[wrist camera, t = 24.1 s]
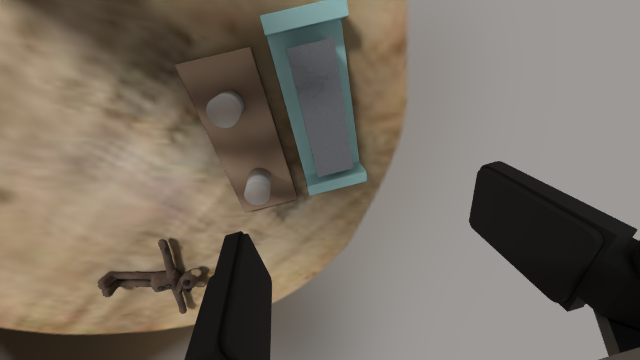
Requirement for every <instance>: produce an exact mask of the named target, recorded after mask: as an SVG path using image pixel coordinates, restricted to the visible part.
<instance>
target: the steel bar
mask: <svg viewBox="0 0 640 360" xmlns="http://www.w3.org/2000/svg"><path fill="white" fill-rule="evenodd" d="M286 51H287V55H288V59H289V63H290V67H291V72H292V76H293V80H294V84H295V88H296V92H297V96H298V100H299V104H300V108H301V112H302V116H303V121H304V125H305V129H306V133H307V137H308V141H309V145H310V149H311V153H312V157H313V161H314V165H315V169H316V172H317V175H318V177H320V176H324V175H328V174H332V173H336V172H340V171H344V170H348V169H352V168H353V163H352V156H351V149H350V143H349V136H348V129H347V122H346V115H345V109H344V102H343V95H342V88H341V81H340V75H339V68H338V61H337V54H336V47H335V41H334V38H329V39H325V40H321V41H317V42H313V43H309V44H304V45H300V46H296V47H292V48H288V49H286Z"/></svg>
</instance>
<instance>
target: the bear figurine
mask: <svg viewBox="0 0 640 360" xmlns="http://www.w3.org/2000/svg"><path fill="white" fill-rule="evenodd" d="M158 244H159V247H160V249H161V252H162V255H163V259H164V263H165V268H166V271H159V272H156V273H139V272H114V271H110V272H108V273H107V274H106V275H105V276H103V277H102V278H101V279H100V280H99V281H98V284H99V285H98V287H99V288H100V289H102V293H103V296H105V297H110V296H112V295H113V293H114V292H115V290H116V289H117V288H118V287H120V286H124V287H126V286H132V287H152V289H153V290H154V291H155V292H161V291H164V290H167V289H172V291H173V294H174V296H175V298H176V301H177V303H178V306H179V311H180V313H182V314H184V313H186V311H187V309H186V305H185V302H184V298H183V295H182V292H183V291H184V290H186V291H187V292H190V291H191V290H192V288H194V287H195V286H197V287H204V286H205V285H206V284H205V282H204V281H202V280H199V278H200V275H201V274H202V271H201V270H200V269H198V268H194V269H192V270H189V271H187V272H186V273H184V274H183V276H181V274H180V272H178V271H177V269H176V268H175V265H174V263H173V260H172V255H171V252H170V248H169V246H168V243H167V241H166V240H163V239H161V240H159V242H158ZM123 279H128V280H123ZM131 279H149V280H131Z"/></svg>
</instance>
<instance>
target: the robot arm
mask: <svg viewBox="0 0 640 360" xmlns="http://www.w3.org/2000/svg"><path fill="white" fill-rule="evenodd" d="M469 223H470V225H471V227H472V228H473V229H474V230H475V231H476V232H477V233H478V234H479V235H480V236H481V237H482V238H484V239H485V240H486V241H487V242H488V243H489V244H490V245H491V246H492V247H493V248H494V249H496V250H497V251H498V252H499V253H500V254H501V255H502V256H503V257H504V258H505V259H506V260H507V261H509V262H510V263H511V264H512V265H513V266H514V267H515V268H516V269H517V270H519V271H520V272H521V273H522V274H523V275H524V276H525V277H526V278H527V279H528V280H529V281H530V282H531V283H533V284H534V285H535V286H536V287H537V288H538V289H539V290H540V291H541V292H542V293H543V294H545V295H546V296H547V297H548V298H549V299H550V300H552V301H553V302H556V303H559V304H560V305H561V306H562V307H563V308H564V309H565V310H566V311H567V312H568V311H571V310H575V309H578V308H581V307H584V305H585V304H588V305H589V306H590V307H591V308H593V311H594V313H595V316H596V320H597V323H598V326H599V329H600V332H601V335H602V338H603V341H604V344H605V347H606V350H607V353H608V356H609V357H606V358H603V359H599V360H640V240H639V241H638V240H636V239H634V238H632V237H633V236H634V234H635V233H636V231H637V229H636V228H634V227H631V226H629V225H628V224H625V223H624V222H621V221H620V220H618V219H616V218H613V217H612V216H609V215H607V214H606V213H604V212H601V211H600V210H597V209H595V208H594V207H591V206H590V205H587V204H586V203H584V202H581V201H580V200H578V199H575V198H574V197H572V196H570V195H567V194H566V193H563V192H561V191H559V190H557V189H555V188H553V187H551V186H549V185H547V184H545V183H543V182H541V181H539V180H537V179H535V178H533V177H531V176H529V175H527V174H525V173H523V172H521V171H519V170H517V169H515V168H513V167H511V166H509V165H507V164H505V163H503V162H500V161H497V162H493V163H489V164H486V165H483V166H482V167H481V169H480V170H479V171H478V173H477V178H476V184H475V190H474V195H473V201H472V207H471V212H470V218H469ZM271 303H272V281H271V277H270V275H269V273H268V271H267V269H266V267H265V265H264V263H263V261H262V259H261V257H260V255H259V254H258V252H257V250H256V248H255V246H254V244H253V242H252V240H251V238H250V236H249V235H248V234H244V233H243V232H241V231H240V232H236V233H233V234H229V235H226V236H225V238H224V242H223V245H222V249H221V252H220V256H219V259H218V263H217V266H216V270H215V273H214V275H213V276H211V277H210V279H209V281H208V284H207V287H206V290H205V294H204V297H203V300H202V304H201V307H200V310H199V313H198V317H197V320H196V323H195V327H194V330H193V333H192V337H191V340H190V343H189V347H188V350H187V353H186V357H185V360H270V342H271V341H270V340H271Z"/></svg>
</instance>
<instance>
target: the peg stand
mask: <svg viewBox="0 0 640 360" xmlns="http://www.w3.org/2000/svg"><path fill="white" fill-rule="evenodd" d="M175 67H176V69H177V71H178V73H179V75H180V77H181V79H182V82H183V84H184V86H185V88H186V90H187V92H188V94H189V96H190V98H191V100H192V102H193V105H194V107H195V109H196V111H197V113H198V115H199V117H200V119H201V121H202V123H203V125H204V128H205V130H206V132H207V134H208V136H209V138H210V140H211V142H212V144H213V146H214V149H215V151H216V153H217V155H218V157H219V159H220V161H221V163H222V165H223V167H224V169H225V172H226V174H227V176H228V178H229V180H230V182H231V184H232V186H233V188H234V190H235V192H236V195H237V197H238V199H239V201H240V203H241V205H242V207H243V209H244V211H245V212H249V211H253V210H257V209H261V208H265V207H268V206H272V205H276V204H280V203H284V202H288V201H292V200H296V199H297V194H296V190H295V187H294V184H293V181H292V177H291V174H290V171H289V168H288V165H287V161H286V158H285V155H284V152H283V149H282V145H281V142H280V139H279V136H278V133H277V129H276V126H275V123H274V120H273V117H272V113H271V110H270V107H269V104H268V101H267V97H266V94H265V91H264V88H263V85H262V81H261V78H260V75H259V72H258V68H257V65H256V62H255V59H254V56H253V52H252V49H251V47H247V48H243V49H239V50H235V51H230V52H226V53H222V54H218V55H213V56H209V57H205V58H201V59H197V60H192V61H188V62H184V63H180V64H176V65H175Z"/></svg>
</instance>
